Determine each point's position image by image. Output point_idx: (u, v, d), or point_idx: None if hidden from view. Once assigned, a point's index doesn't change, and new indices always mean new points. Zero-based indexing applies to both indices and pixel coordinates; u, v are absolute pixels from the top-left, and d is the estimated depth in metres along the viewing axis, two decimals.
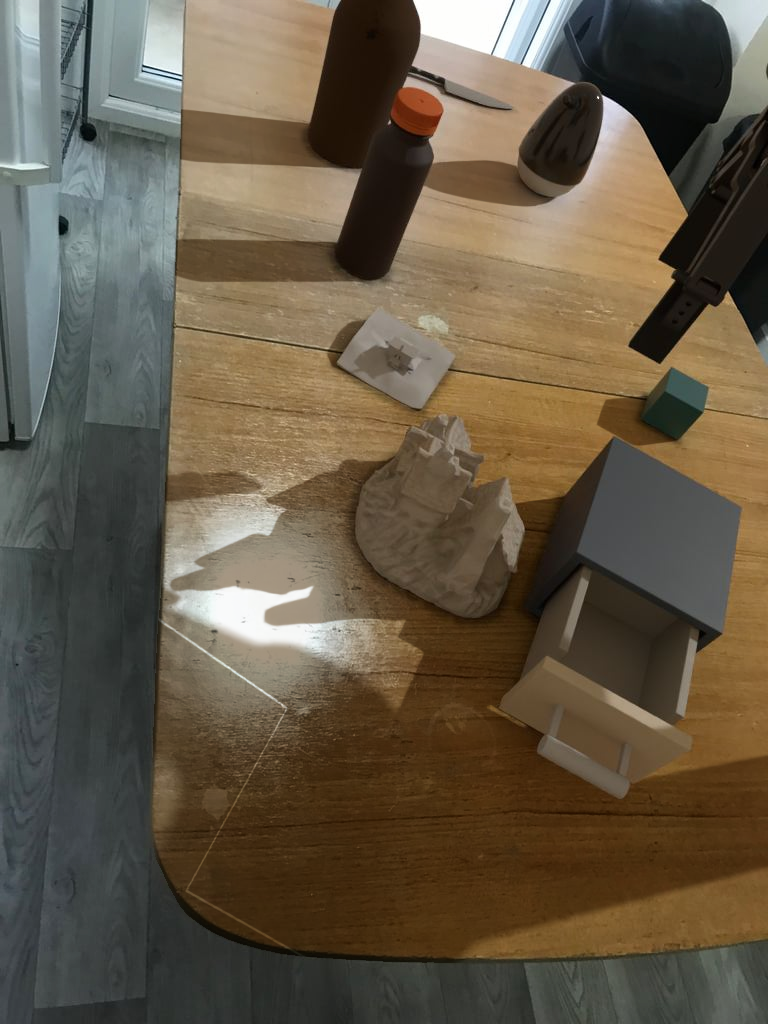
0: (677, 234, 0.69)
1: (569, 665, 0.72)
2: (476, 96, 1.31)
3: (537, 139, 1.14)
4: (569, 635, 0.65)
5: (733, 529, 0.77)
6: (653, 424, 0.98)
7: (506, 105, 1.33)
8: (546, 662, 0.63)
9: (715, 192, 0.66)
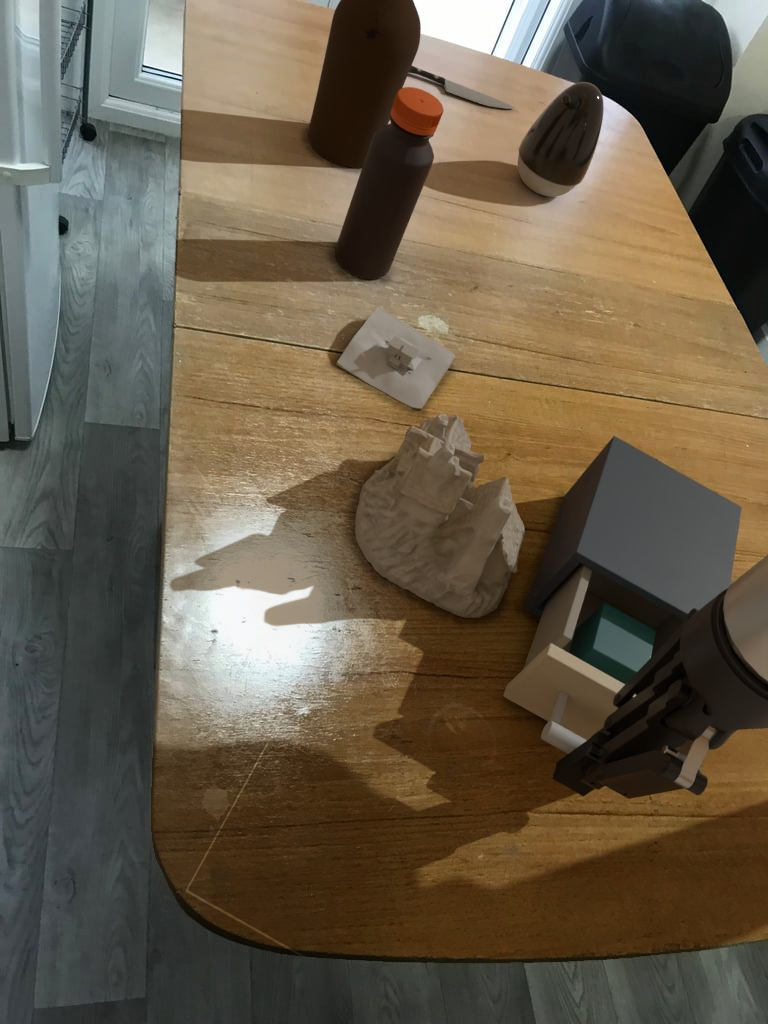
0: None
1: None
2: (476, 96, 1.31)
3: (537, 139, 1.14)
4: (573, 623, 0.66)
5: (733, 529, 0.77)
6: None
7: (506, 105, 1.33)
8: (550, 649, 0.63)
9: None
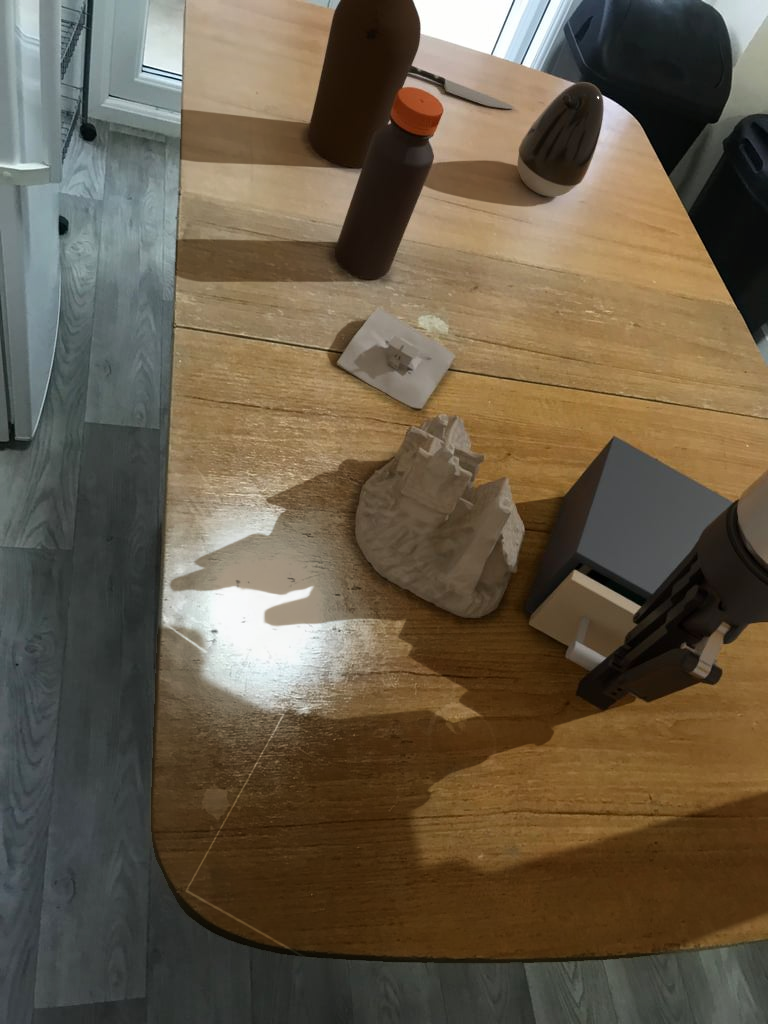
0: None
1: None
2: (476, 96, 1.31)
3: (537, 139, 1.14)
4: None
5: None
6: None
7: (506, 105, 1.33)
8: (574, 575, 0.69)
9: None
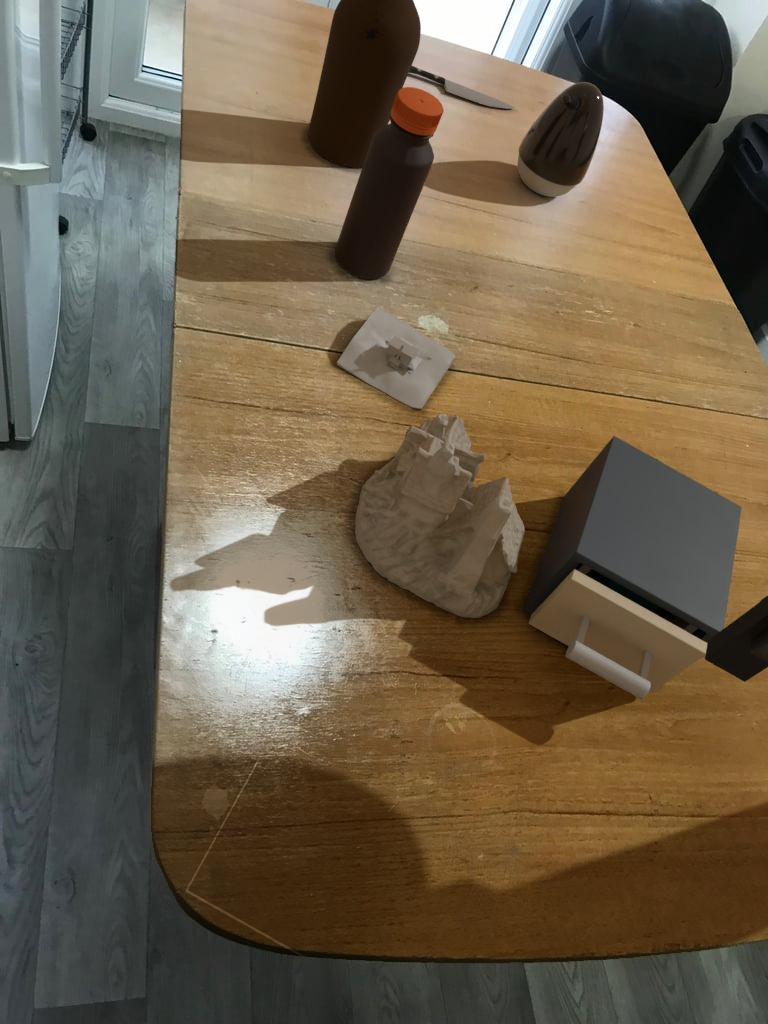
0: None
1: None
2: (476, 96, 1.31)
3: (537, 139, 1.14)
4: None
5: (733, 529, 0.77)
6: None
7: (506, 105, 1.33)
8: (574, 574, 0.69)
9: None
